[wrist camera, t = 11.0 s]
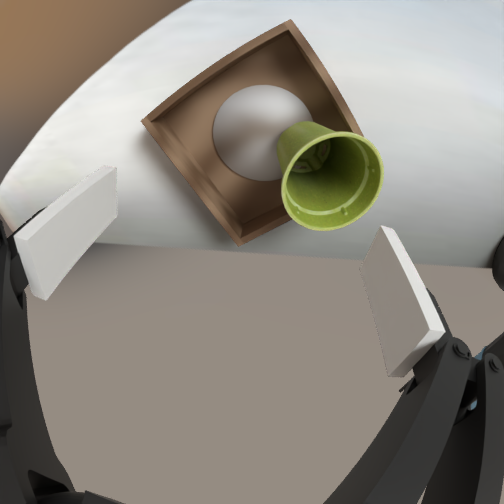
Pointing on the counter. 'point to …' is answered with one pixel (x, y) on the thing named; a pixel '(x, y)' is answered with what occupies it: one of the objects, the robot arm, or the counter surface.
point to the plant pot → (327, 175)
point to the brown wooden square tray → (247, 126)
